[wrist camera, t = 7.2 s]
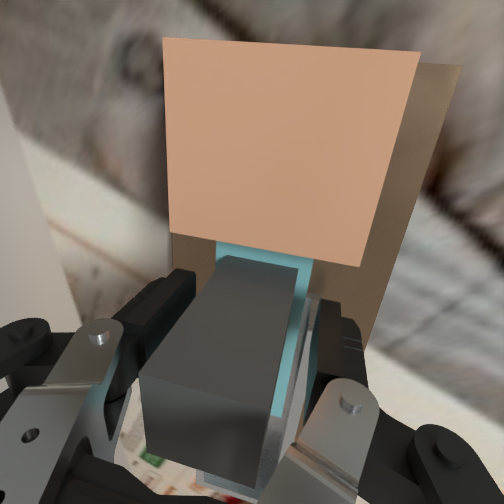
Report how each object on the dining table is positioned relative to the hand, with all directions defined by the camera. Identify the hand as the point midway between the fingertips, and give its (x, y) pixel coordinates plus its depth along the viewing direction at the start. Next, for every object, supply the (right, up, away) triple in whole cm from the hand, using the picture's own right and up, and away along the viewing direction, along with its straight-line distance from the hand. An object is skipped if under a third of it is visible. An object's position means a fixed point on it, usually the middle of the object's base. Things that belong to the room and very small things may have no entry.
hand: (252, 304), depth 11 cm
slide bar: (+1, +1, +4) cm, 4 cm away
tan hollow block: (+2, +7, +3) cm, 8 cm away
